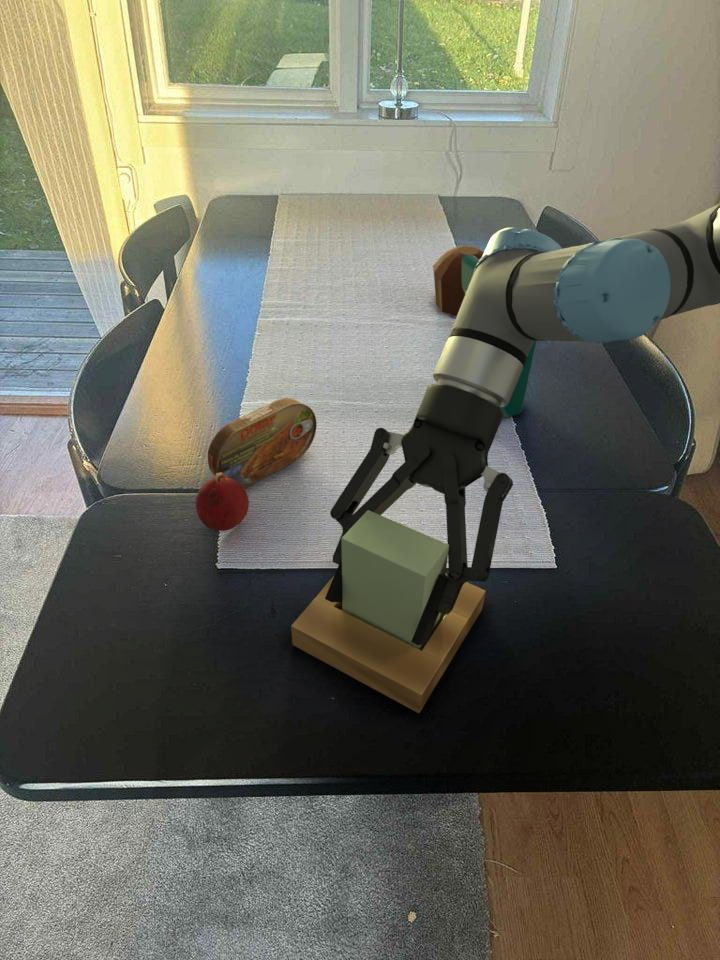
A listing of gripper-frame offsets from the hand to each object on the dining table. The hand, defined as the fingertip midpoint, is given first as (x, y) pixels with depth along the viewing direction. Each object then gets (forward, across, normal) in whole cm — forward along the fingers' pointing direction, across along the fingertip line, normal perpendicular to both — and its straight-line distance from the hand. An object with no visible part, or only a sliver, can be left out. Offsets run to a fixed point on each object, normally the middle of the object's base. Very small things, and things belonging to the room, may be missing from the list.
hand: (375, 620), depth 65 cm
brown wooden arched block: (-47, +24, -54) cm, 75 cm away
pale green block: (+1, 0, -5) cm, 5 cm away
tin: (-8, +26, -15) cm, 31 cm away
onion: (-1, +23, -7) cm, 24 cm away
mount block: (+1, 0, -6) cm, 6 cm away
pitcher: (-28, +8, -35) cm, 46 cm away
